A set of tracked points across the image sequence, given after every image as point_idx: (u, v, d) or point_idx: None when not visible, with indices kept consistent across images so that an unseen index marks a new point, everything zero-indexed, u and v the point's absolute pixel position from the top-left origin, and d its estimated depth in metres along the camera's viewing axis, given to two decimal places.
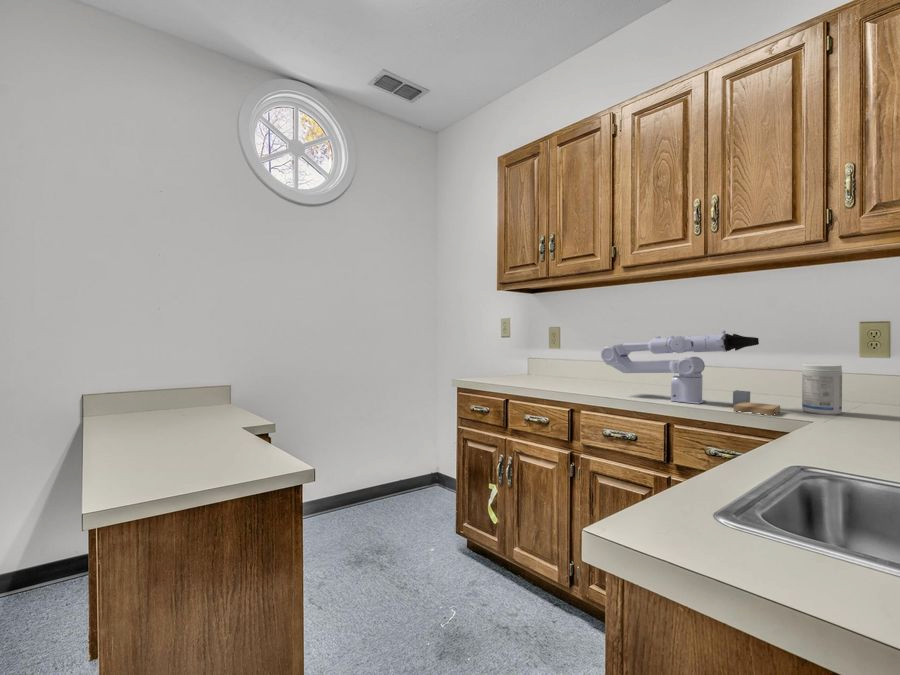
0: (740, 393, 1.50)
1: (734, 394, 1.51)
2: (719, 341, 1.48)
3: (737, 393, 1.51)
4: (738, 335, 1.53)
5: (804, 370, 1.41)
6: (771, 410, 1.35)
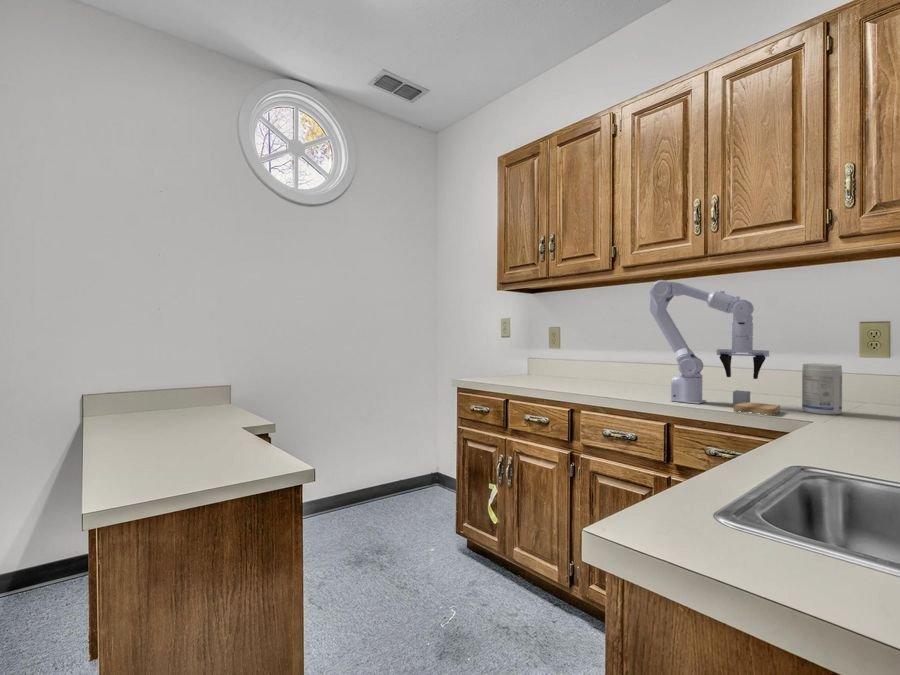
0: (740, 393, 1.50)
1: (734, 394, 1.51)
2: (768, 353, 1.46)
3: (737, 393, 1.51)
4: None
5: (804, 370, 1.41)
6: (771, 410, 1.35)
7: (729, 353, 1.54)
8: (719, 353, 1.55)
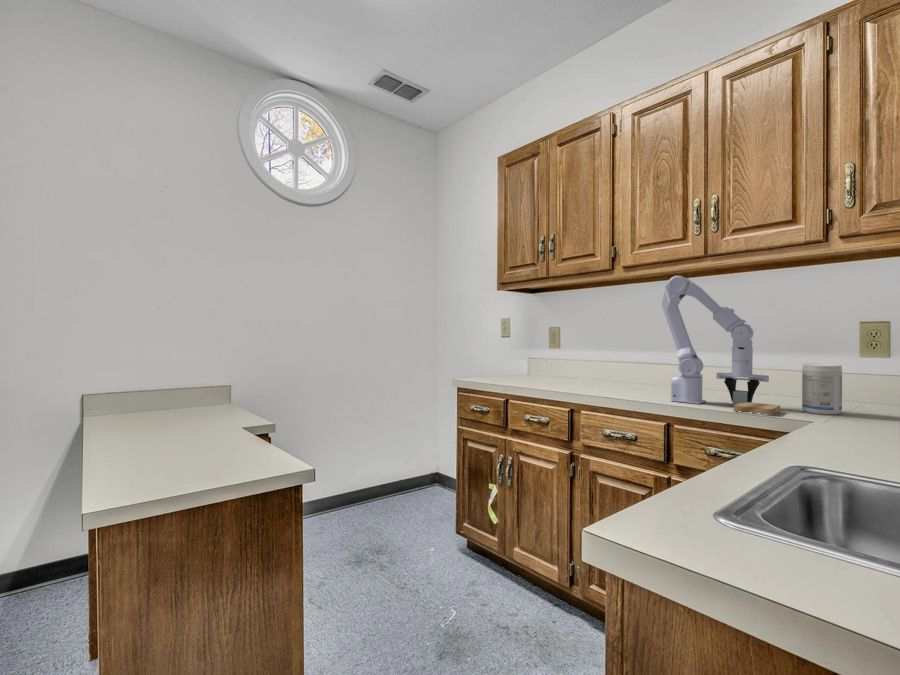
0: (740, 393, 1.50)
1: (734, 394, 1.51)
2: (768, 378, 1.46)
3: (737, 393, 1.51)
4: None
5: (804, 370, 1.41)
6: (771, 410, 1.35)
7: (729, 377, 1.54)
8: (719, 377, 1.55)
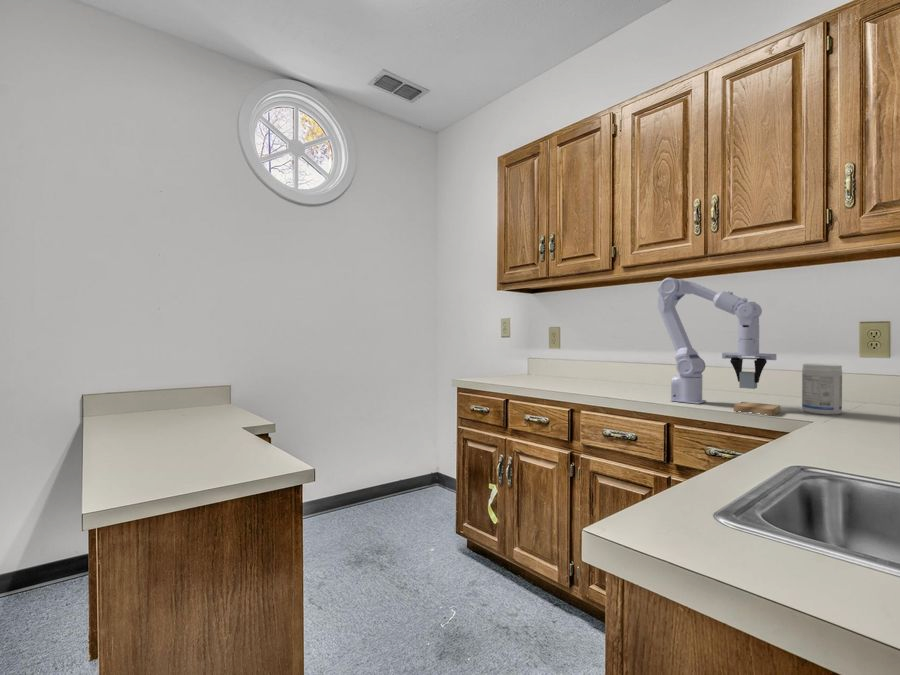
0: (747, 373, 1.46)
1: (741, 375, 1.47)
2: (775, 356, 1.42)
3: (744, 374, 1.47)
4: None
5: (804, 370, 1.41)
6: (771, 410, 1.35)
7: (735, 356, 1.50)
8: (725, 356, 1.51)
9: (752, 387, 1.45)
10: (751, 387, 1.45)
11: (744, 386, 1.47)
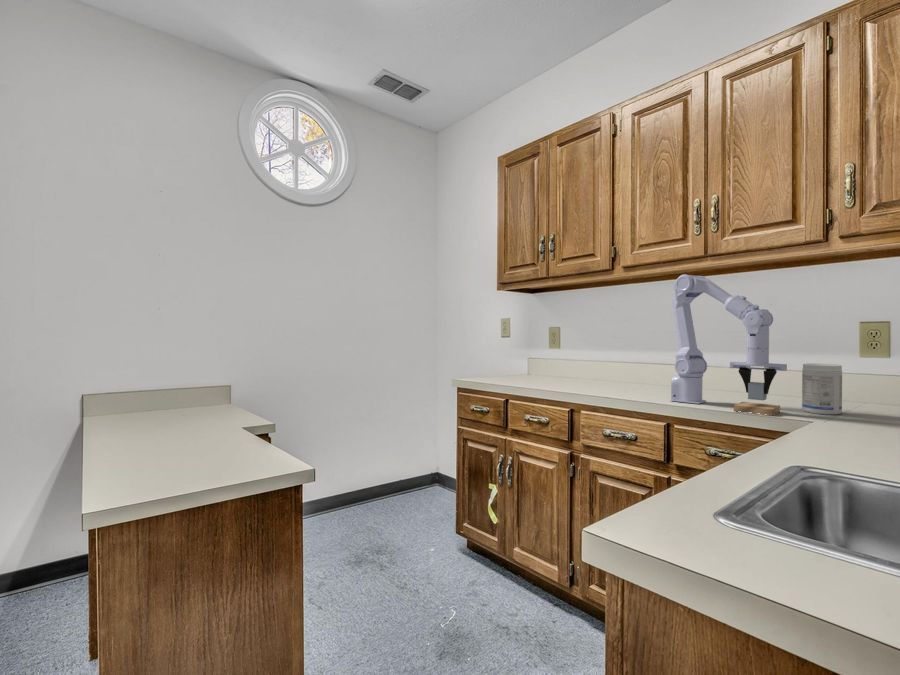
0: (756, 384, 1.40)
1: (749, 386, 1.41)
2: (786, 367, 1.36)
3: (753, 384, 1.41)
4: None
5: (804, 370, 1.41)
6: (771, 410, 1.35)
7: (743, 366, 1.44)
8: (732, 366, 1.45)
9: (761, 399, 1.39)
10: (760, 399, 1.39)
11: (753, 397, 1.41)
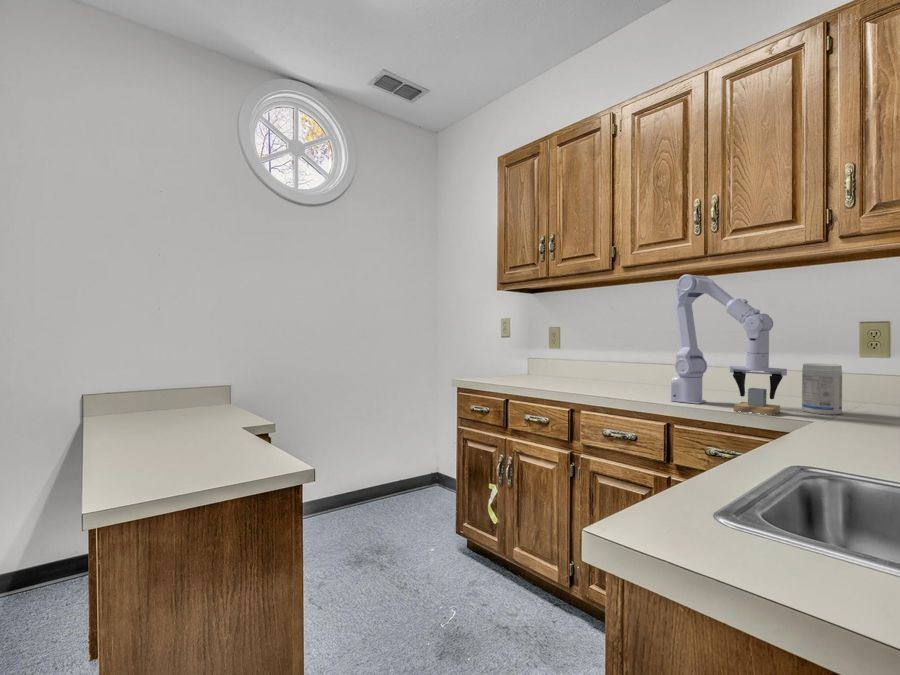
0: (756, 391, 1.40)
1: (749, 392, 1.41)
2: (786, 372, 1.36)
3: (752, 391, 1.41)
4: None
5: (804, 370, 1.41)
6: (771, 410, 1.35)
7: (743, 371, 1.44)
8: (732, 370, 1.45)
9: (761, 405, 1.39)
10: (760, 405, 1.39)
11: (753, 404, 1.41)
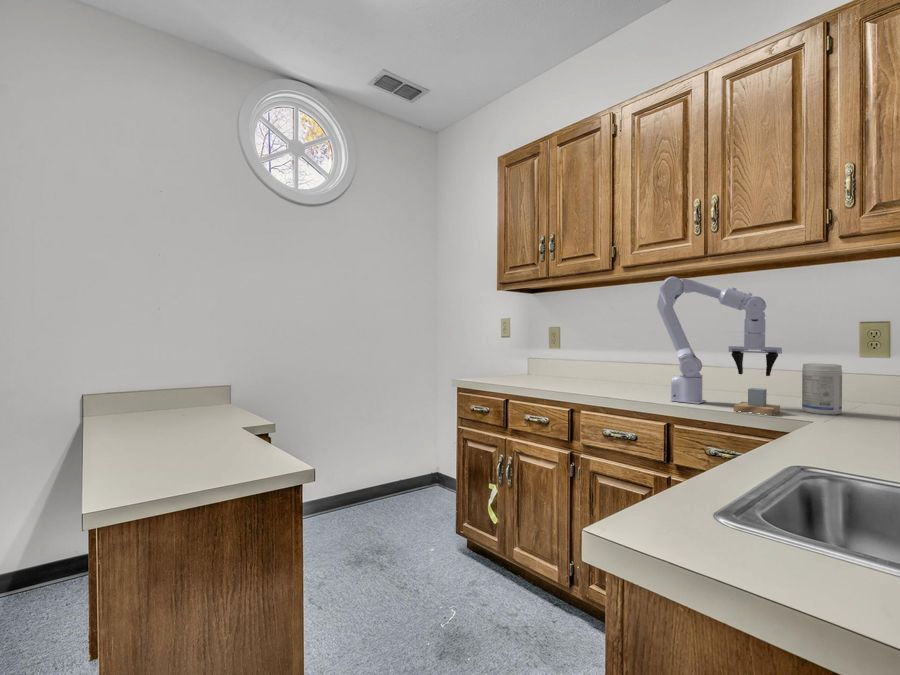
0: (756, 391, 1.40)
1: (749, 392, 1.41)
2: (781, 350, 1.46)
3: (752, 391, 1.41)
4: None
5: (804, 370, 1.41)
6: (771, 410, 1.35)
7: (741, 350, 1.53)
8: (731, 350, 1.54)
9: (761, 405, 1.39)
10: (760, 405, 1.39)
11: (753, 404, 1.41)
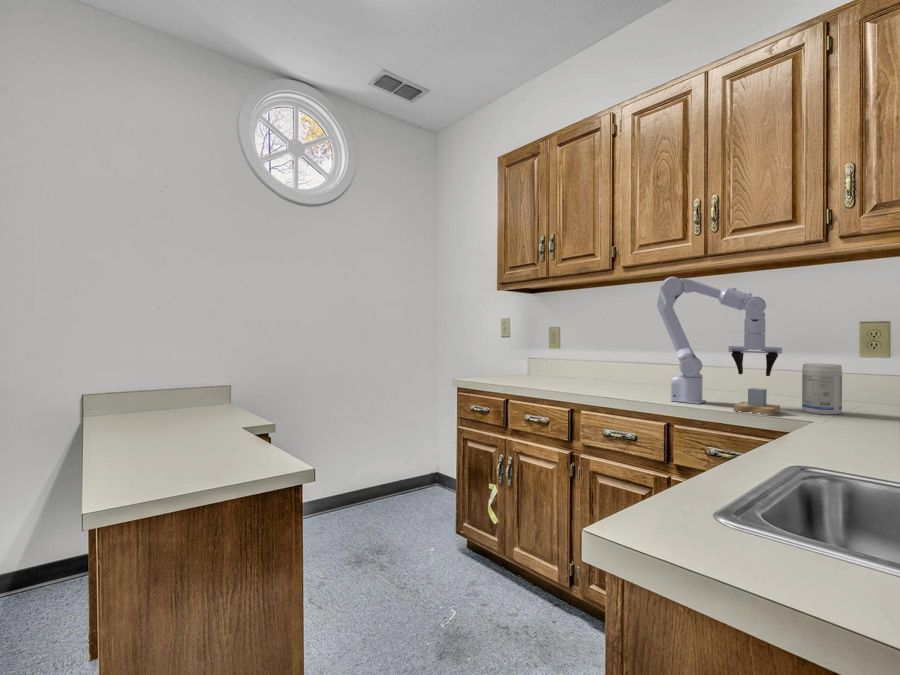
0: (756, 391, 1.40)
1: (749, 392, 1.41)
2: (781, 350, 1.46)
3: (752, 391, 1.41)
4: None
5: (804, 370, 1.41)
6: (771, 410, 1.35)
7: (741, 350, 1.53)
8: (731, 350, 1.54)
9: (761, 405, 1.39)
10: (760, 405, 1.39)
11: (753, 404, 1.41)
